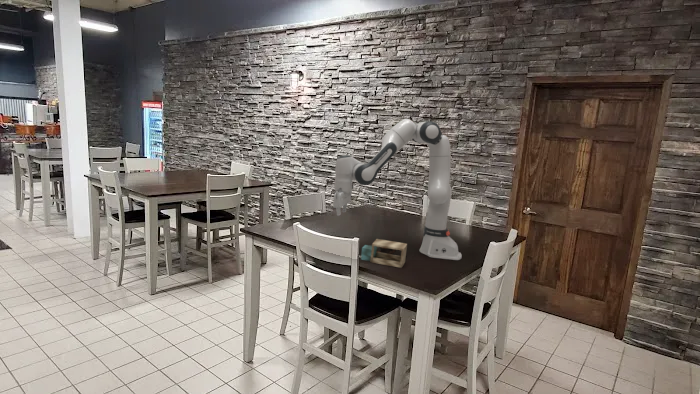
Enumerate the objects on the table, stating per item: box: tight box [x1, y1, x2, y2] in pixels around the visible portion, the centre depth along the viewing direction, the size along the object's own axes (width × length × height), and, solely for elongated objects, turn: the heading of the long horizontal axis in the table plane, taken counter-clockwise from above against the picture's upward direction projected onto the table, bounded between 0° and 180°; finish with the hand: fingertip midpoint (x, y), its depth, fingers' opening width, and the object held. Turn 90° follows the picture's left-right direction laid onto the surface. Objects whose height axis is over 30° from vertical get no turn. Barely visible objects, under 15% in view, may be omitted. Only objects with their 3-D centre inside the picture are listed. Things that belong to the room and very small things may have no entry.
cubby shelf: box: [369, 238, 408, 269], centre depth 194 cm, size 16×10×9 cm, turn 73°
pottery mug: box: [377, 247, 397, 255], centre depth 206 cm, size 12×10×8 cm
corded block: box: [358, 244, 377, 262], centre depth 199 cm, size 19×6×6 cm, turn 72°
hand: (341, 213), depth 203 cm, fingers open, 8 cm apart
